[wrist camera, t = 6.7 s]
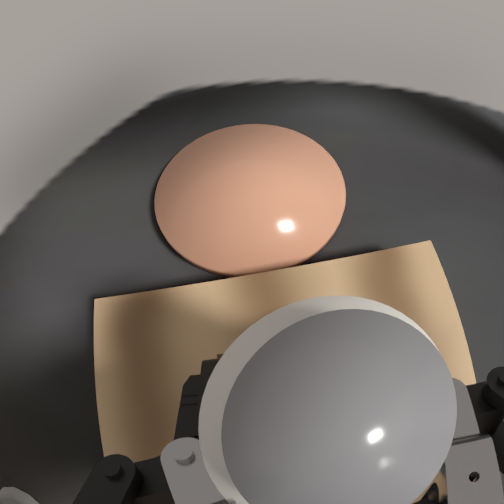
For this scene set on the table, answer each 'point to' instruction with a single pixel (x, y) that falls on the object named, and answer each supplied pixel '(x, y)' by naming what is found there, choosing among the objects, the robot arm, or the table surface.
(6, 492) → the french press
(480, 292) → the table surface
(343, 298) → the pepper mill
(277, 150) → the terracotta plate
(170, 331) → the mill caddy
